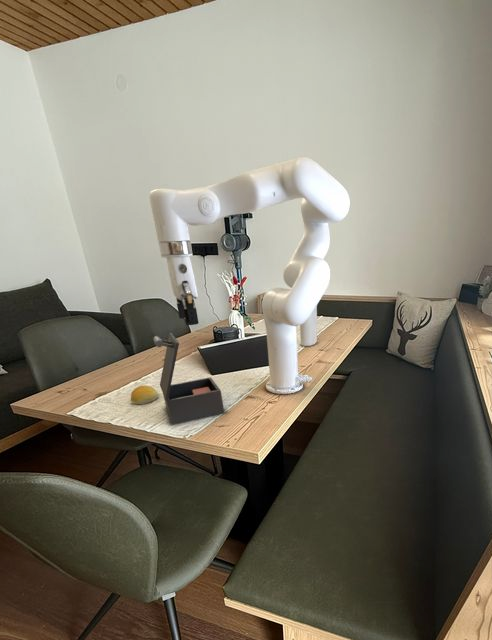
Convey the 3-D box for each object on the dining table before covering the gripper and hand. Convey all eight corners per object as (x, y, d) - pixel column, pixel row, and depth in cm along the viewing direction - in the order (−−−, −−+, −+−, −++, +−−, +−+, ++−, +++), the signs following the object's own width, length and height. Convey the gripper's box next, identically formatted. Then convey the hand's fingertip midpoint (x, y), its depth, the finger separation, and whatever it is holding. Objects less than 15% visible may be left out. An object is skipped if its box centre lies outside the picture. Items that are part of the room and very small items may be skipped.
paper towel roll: (299, 346, 163) (298, 296, 152) (301, 342, 168) (300, 294, 157) (315, 346, 162) (315, 296, 151) (316, 342, 167) (316, 294, 156)
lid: (172, 333, 102) (153, 328, 99) (179, 343, 92) (158, 338, 89) (162, 385, 107) (143, 382, 104) (167, 400, 97) (148, 397, 95)
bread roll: (131, 407, 112) (128, 395, 110) (132, 396, 120) (129, 385, 118) (158, 402, 115) (156, 390, 113) (158, 392, 122) (155, 381, 120)
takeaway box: (214, 398, 116) (210, 377, 112) (224, 413, 106) (220, 390, 103) (166, 408, 111) (161, 386, 107) (172, 424, 101) (166, 401, 97)
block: (194, 404, 110) (191, 389, 108) (210, 401, 112) (207, 386, 109) (197, 411, 106) (194, 395, 104) (214, 407, 108) (211, 392, 105)
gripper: (198, 250, 82) (210, 325, 91) (185, 248, 96) (196, 313, 104) (165, 252, 80) (180, 329, 88) (156, 249, 93) (169, 317, 102)
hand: (188, 321), depth 96 cm, fingers open, 9 cm apart
